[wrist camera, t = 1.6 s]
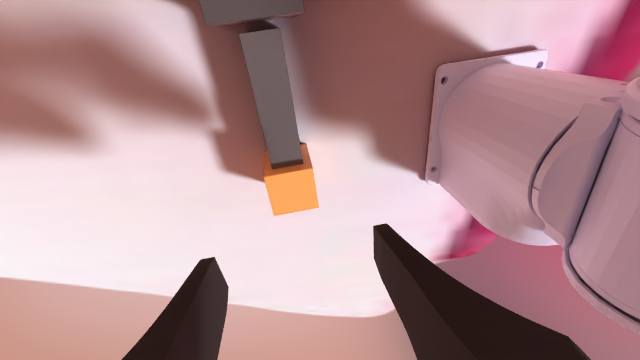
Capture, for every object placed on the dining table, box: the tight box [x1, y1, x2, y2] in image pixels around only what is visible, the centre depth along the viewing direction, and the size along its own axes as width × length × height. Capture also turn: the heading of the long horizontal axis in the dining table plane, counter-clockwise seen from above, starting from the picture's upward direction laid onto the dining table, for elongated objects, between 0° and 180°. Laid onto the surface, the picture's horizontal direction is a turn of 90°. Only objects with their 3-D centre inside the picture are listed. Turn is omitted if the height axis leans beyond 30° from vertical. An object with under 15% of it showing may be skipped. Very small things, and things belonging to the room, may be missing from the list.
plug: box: [199, 0, 319, 216], centre depth 15 cm, size 16×4×4 cm, turn 7°
